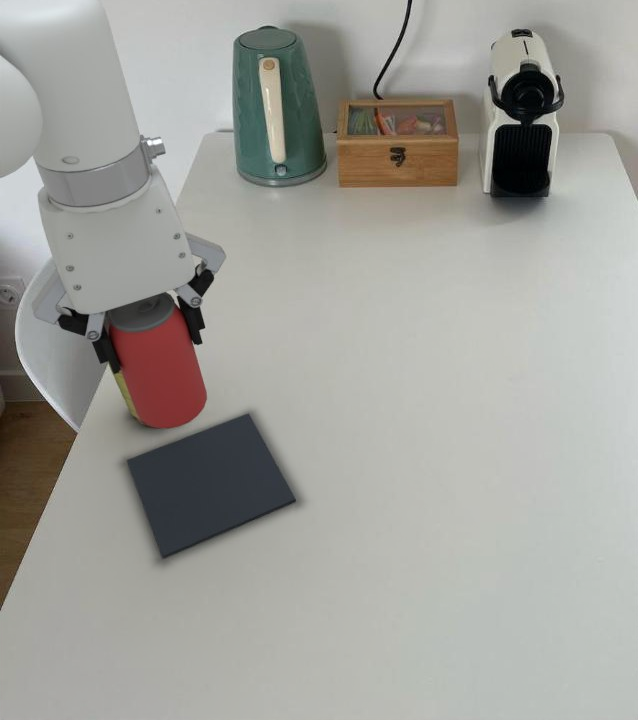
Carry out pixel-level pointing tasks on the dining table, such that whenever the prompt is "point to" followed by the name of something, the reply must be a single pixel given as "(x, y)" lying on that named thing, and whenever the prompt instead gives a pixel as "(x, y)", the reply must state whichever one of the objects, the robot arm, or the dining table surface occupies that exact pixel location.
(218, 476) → the mat
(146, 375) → the beer can
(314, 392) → the dining table surface
